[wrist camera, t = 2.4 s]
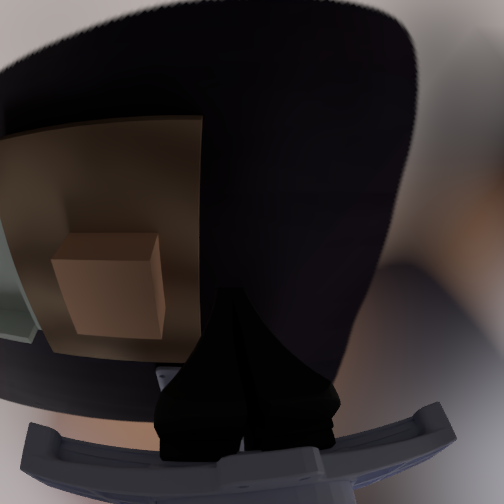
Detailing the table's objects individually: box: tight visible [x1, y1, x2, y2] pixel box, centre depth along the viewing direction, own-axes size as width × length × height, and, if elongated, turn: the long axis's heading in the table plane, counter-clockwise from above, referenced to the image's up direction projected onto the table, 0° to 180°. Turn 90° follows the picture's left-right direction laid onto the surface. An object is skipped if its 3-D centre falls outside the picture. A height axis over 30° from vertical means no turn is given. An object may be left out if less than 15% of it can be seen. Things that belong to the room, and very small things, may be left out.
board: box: [0, 115, 203, 363], centre depth 16 cm, size 16×12×2 cm
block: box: [51, 233, 166, 339], centre depth 14 cm, size 5×5×2 cm
